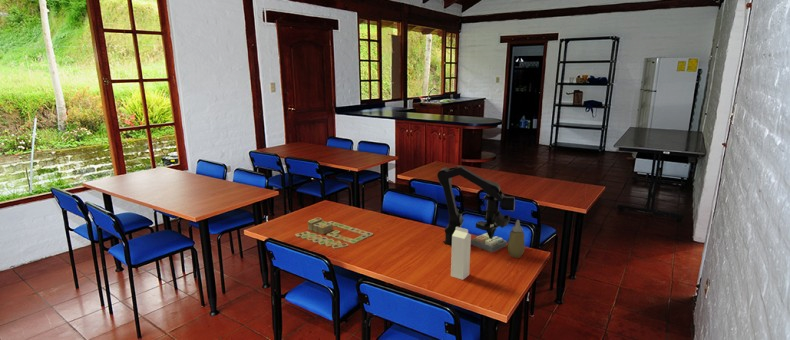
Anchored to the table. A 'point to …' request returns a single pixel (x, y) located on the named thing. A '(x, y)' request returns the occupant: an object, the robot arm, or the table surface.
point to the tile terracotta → (480, 239)
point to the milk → (460, 253)
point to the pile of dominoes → (326, 227)
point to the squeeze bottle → (516, 241)
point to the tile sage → (486, 235)
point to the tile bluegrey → (497, 239)
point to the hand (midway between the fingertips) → (490, 238)
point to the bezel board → (487, 247)
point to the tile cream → (490, 242)
